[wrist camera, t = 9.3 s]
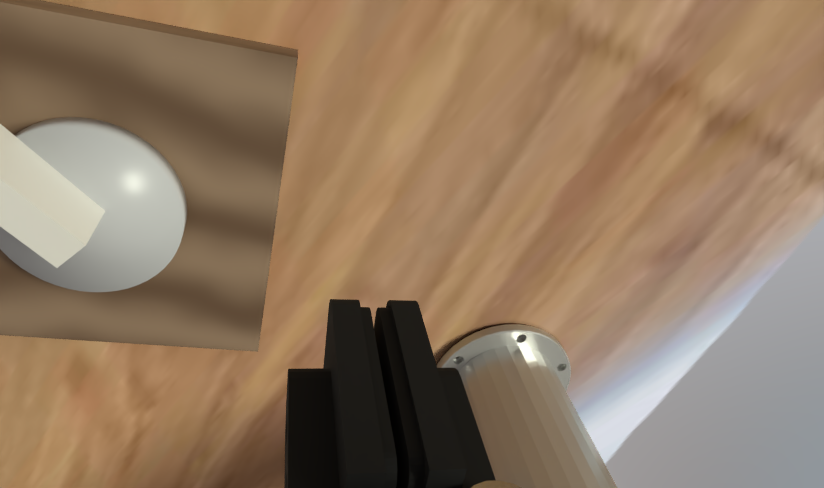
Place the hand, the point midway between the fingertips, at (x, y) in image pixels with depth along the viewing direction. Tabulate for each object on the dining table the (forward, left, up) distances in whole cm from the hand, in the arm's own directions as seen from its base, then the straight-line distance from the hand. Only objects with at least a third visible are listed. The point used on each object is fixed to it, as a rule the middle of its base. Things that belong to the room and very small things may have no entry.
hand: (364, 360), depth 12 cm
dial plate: (-12, +12, -29) cm, 34 cm away
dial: (-10, +14, -27) cm, 32 cm away
